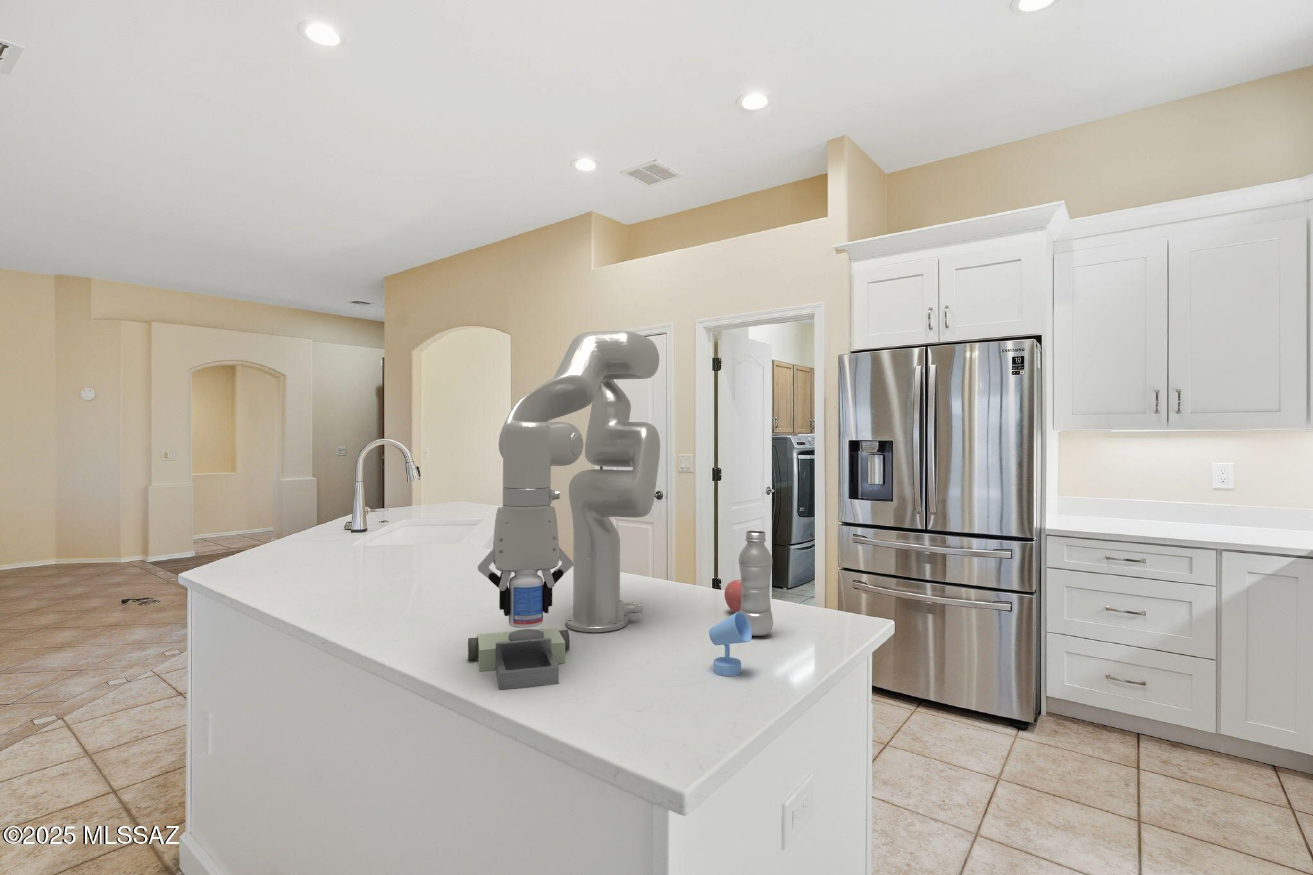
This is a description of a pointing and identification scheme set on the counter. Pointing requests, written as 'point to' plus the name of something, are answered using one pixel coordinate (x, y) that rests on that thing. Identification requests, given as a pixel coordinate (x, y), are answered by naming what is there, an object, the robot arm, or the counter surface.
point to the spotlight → (730, 642)
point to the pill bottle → (526, 599)
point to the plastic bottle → (756, 583)
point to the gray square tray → (525, 664)
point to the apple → (734, 595)
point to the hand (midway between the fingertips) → (525, 611)
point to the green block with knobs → (485, 643)
